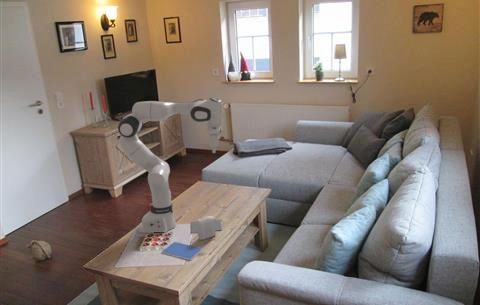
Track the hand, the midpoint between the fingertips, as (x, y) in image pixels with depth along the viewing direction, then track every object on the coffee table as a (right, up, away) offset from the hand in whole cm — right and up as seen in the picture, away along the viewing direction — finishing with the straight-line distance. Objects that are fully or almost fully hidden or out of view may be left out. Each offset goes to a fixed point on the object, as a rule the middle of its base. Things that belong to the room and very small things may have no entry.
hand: (214, 149), depth 229 cm
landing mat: (-6, -46, +10) cm, 48 cm away
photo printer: (-4, -50, -2) cm, 50 cm away
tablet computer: (-16, -55, -16) cm, 60 cm away
